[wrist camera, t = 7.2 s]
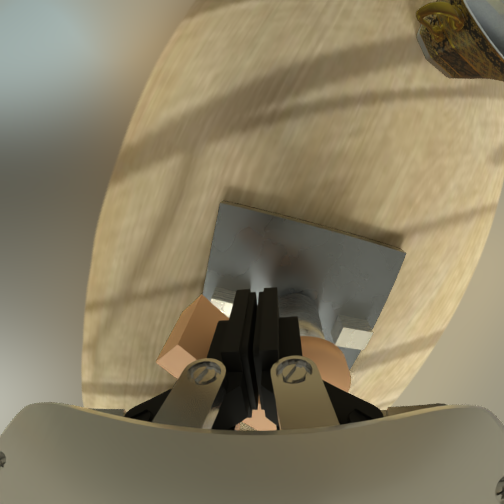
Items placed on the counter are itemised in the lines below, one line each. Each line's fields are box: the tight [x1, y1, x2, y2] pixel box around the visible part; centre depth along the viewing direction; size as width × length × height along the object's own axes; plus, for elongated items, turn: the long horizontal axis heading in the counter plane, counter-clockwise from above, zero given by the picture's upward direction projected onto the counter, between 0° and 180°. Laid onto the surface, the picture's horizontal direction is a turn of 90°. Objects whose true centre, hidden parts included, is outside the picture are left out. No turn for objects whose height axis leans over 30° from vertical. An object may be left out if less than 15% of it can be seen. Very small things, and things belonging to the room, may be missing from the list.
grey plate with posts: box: [203, 201, 406, 370], centre depth 21 cm, size 16×16×8 cm
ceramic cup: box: [416, 0, 504, 81], centre depth 10 cm, size 13×10×10 cm
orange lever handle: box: [156, 295, 351, 431], centre depth 14 cm, size 14×6×6 cm, turn 44°
